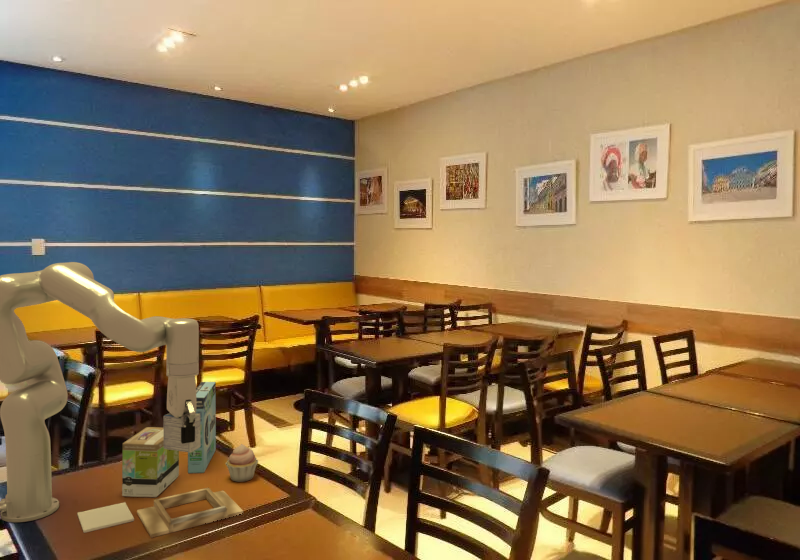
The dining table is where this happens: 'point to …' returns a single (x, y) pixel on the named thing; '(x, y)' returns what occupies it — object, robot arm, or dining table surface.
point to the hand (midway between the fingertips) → (182, 436)
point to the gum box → (204, 427)
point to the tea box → (148, 464)
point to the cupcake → (241, 464)
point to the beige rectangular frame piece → (162, 524)
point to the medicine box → (179, 434)
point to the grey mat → (105, 517)
